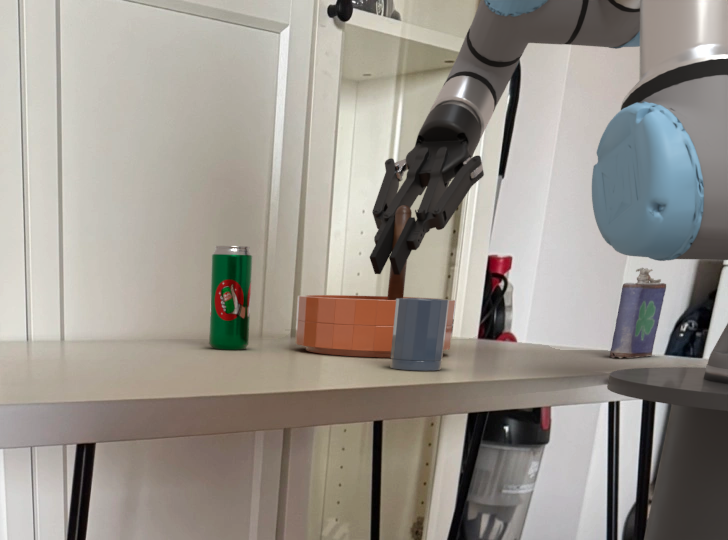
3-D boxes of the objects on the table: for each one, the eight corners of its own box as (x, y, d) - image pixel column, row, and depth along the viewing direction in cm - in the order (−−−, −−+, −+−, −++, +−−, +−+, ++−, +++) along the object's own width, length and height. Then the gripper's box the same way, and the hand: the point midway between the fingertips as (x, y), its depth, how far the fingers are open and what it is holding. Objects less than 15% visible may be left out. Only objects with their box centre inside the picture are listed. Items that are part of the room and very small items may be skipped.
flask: (623, 358, 131) (640, 267, 127) (602, 357, 133) (617, 267, 129) (656, 356, 137) (673, 268, 133) (635, 354, 139) (651, 268, 135)
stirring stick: (403, 326, 133) (415, 205, 127) (394, 326, 132) (406, 204, 126) (390, 325, 134) (402, 205, 128) (381, 325, 133) (392, 204, 127)
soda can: (227, 346, 135) (230, 246, 130) (256, 349, 132) (261, 246, 127) (200, 347, 132) (203, 245, 127) (230, 350, 129) (234, 245, 124)
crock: (450, 369, 111) (459, 299, 108) (421, 371, 108) (429, 300, 105) (409, 365, 115) (416, 297, 112) (379, 367, 111) (386, 298, 108)
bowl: (478, 354, 132) (485, 300, 129) (388, 361, 119) (394, 301, 117) (356, 344, 145) (360, 294, 142) (263, 349, 132) (266, 295, 129)
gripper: (514, 150, 132) (447, 291, 126) (407, 154, 140) (339, 287, 134) (506, 96, 126) (435, 242, 120) (394, 104, 134) (322, 241, 128)
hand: (384, 265), depth 127 cm, fingers closed on stirring stick, 2 cm apart
